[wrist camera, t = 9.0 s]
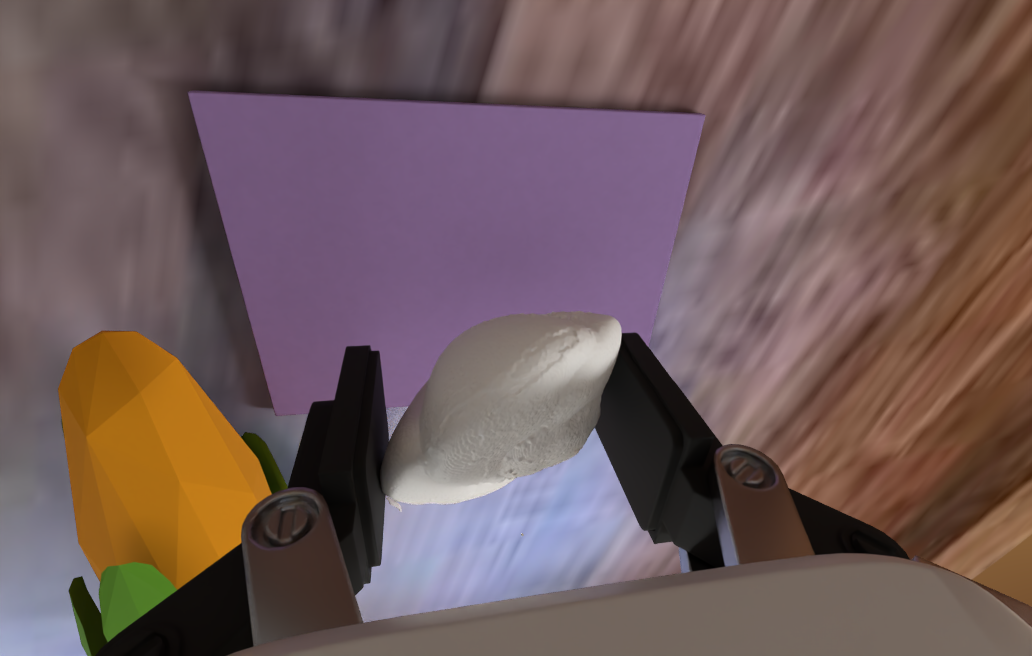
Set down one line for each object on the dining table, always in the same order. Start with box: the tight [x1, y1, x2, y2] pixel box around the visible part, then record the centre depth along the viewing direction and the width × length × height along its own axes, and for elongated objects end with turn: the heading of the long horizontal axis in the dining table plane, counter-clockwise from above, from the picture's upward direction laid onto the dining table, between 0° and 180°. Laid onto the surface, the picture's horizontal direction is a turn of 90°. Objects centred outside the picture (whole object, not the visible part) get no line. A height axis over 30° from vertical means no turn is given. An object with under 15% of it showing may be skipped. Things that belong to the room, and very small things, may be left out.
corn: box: [58, 331, 288, 656], centre depth 18 cm, size 7×8×20 cm
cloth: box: [188, 90, 705, 416], centre depth 18 cm, size 16×12×1 cm
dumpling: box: [380, 311, 622, 536], centre depth 11 cm, size 7×5×4 cm
